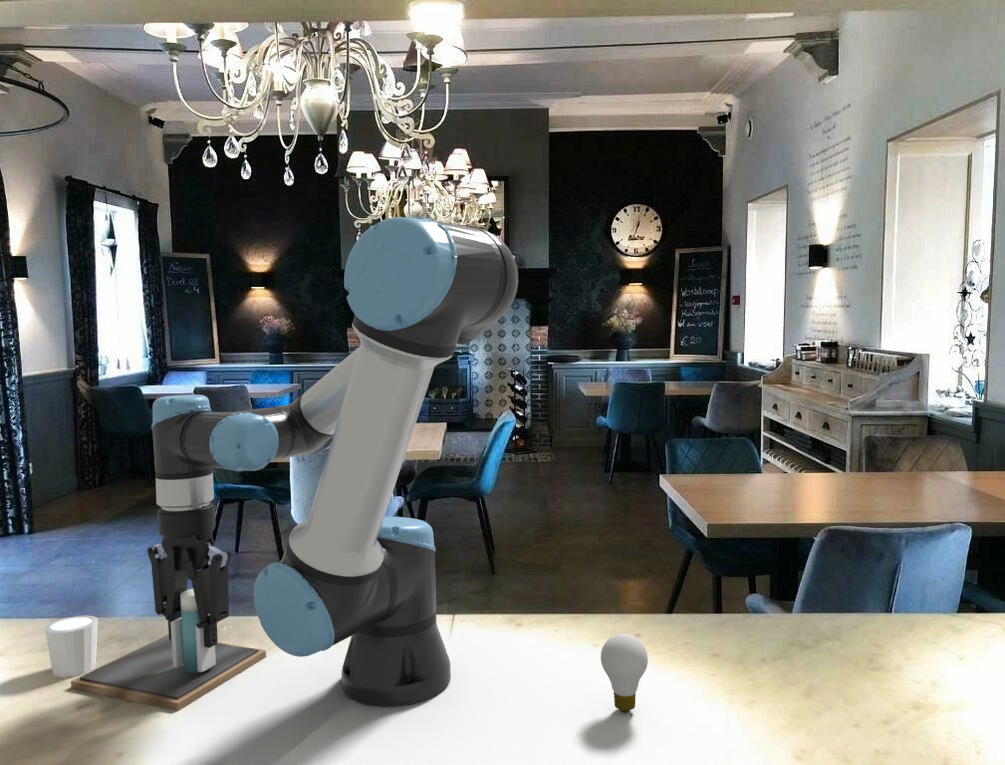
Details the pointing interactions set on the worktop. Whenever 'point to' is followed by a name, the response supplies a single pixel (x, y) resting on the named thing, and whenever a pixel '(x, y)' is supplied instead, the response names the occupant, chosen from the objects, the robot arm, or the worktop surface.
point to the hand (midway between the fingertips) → (194, 665)
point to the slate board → (165, 674)
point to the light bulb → (624, 668)
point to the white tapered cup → (72, 645)
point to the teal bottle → (189, 630)
